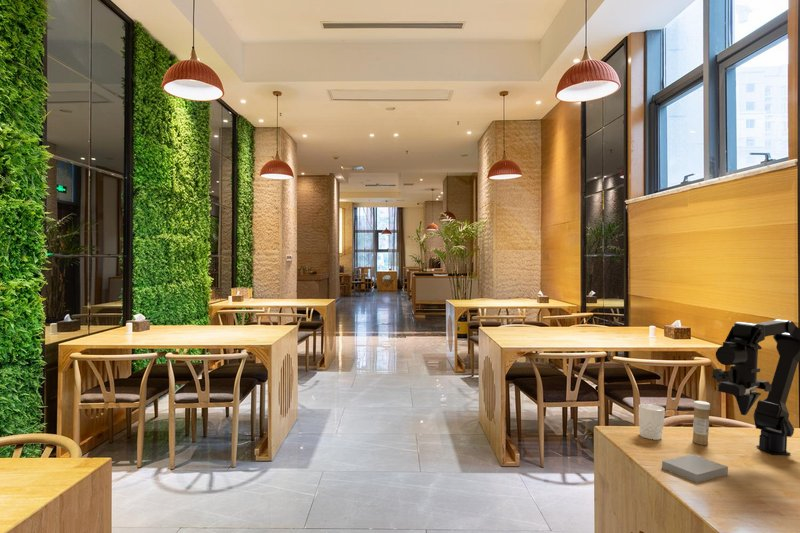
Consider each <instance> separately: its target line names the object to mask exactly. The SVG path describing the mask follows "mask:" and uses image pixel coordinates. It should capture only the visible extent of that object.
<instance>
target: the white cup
mask: <svg viewBox="0 0 800 533" xmlns="http://www.w3.org/2000/svg"><path fill="white" fill-rule="evenodd" d="M665 412H666V408H665V407H663V406H661V405H655V404H650V403H641V404H638V428H639V430H638V432H639V436H640V437H641V438H645V439H646V440H647V439H648V440H652V439H653V440H654V441H658V440H661V439H663V430H664V424H665Z"/></svg>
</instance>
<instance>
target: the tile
mask: <svg viewBox="0 0 800 533" xmlns="http://www.w3.org/2000/svg"><path fill="white" fill-rule="evenodd" d="M661 468H663V470H665V471H667V470H668V471H667V472H670V471H671V472H670V473H672V472H673V474H674V473H675V474H674V475H677V476H680V477H682V478H685V479H687V480H688V481H691V482H695V483H696V484H698V483H702V482H705V481H709V480H712V479H716V478H720V477H723V476H724V477H725V476H728V475H729V474H728V473H729V472H728V471H729V466H727V465H724V464H721V463H718V462H716V461H713V460H711V459H707V458H705V457H701V456H699V455H697V454H694V453H691V454H686V455H682V456H678V457H674V458H669V459H664V460H662V461H661Z"/></svg>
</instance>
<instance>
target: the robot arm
mask: <svg viewBox="0 0 800 533" xmlns="http://www.w3.org/2000/svg"><path fill="white" fill-rule="evenodd" d="M770 336H771V337H772V338H773V340H774V341H775V343H776V350H777V353H778V355H779V358H778V361H777V364H776V368H775V370H774V373H773V377H772V381H771V383H770V382H769V381H767V380H761V379H758V373H761V368H759V367H758V359H759V358H758V357H759V356H758V355H759V350H762V349H763V348H762V346H761V345H760V344H759V343H761V342H763V341H765V340H766V337H770ZM715 358H716V360H717V361H718V363H720V364H721V365H723V366H730V369H729V370H724V371H723V369H722V368H715V369H713V370H712V372H711V374H712V375H711V378H712V379H714V380H715V383H718V384H717V392H719V393H720V392H721V393H725V394H728V395H732V396H734V399H736V403H737V406H738V409H739V413H740V415H742V416H747V415H748V413H749V412H750V409H751V408H753V407H752V406H753V405H754V404H755V402H756V401H757V400H758V398H759V397H760V396H761V394H762V393H760V392H757V390H756V389H760V390H763V391H764V392H768V394H767V397H766V398H764V399H763V400H761V399H759V400H758V401H757V402H756V406H755V409H754V410H753V411H754V412H753V421H754V425H755V429H758V430H760V434H759V439H758V440H759V442H758V443H759V444H758V445H756V447H755V448H757V449H760V450H762V451H763V452H765V453H768V454H769V455H782V456H783V455H786V456H787V455H789V456H790V455H791V454H792V453H791V452H789V451H788V450H787V446H788V438H792V436H793V435H794V433H795V428H794V426H793V424H792V423H791V421H790V419H789V417H790V412H789V410H788V408H787V404H786V403H787V401H788V397H789V393H790V391H791V390H790V389H791V387H792V384H793V380H794V377H795V374H796V371H797V367H798V365H799V364H798V363H799V362H800V328H799V327H798V326H797V325H796V324H795V323H794V322H793V321H791V320H788V319H779V318H776V319H773V320H769V321H763V322H758V323H757V322H756V323H751V322H744V321H743V322H741V321H736V322H735V323H734V324H733V325H732V326H731V328H730V330H729V332H728V333H727V336H726V338H725V340H724V341H723V342H722V346H719V347H718V348H717V349H716V351H715Z"/></svg>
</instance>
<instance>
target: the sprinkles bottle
mask: <svg viewBox="0 0 800 533" xmlns="http://www.w3.org/2000/svg"><path fill="white" fill-rule="evenodd" d="M693 408H694V409H693V422H692V424H693V425H692V440H691V441H692V442H693V443H695V444H697V445H702V446H703V445H704V446H706V445H708V444H709V434H710V433H709V430H710V429H709V428H710V409H711V403H709V402H708V401H704V400H694V401H693Z"/></svg>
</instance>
